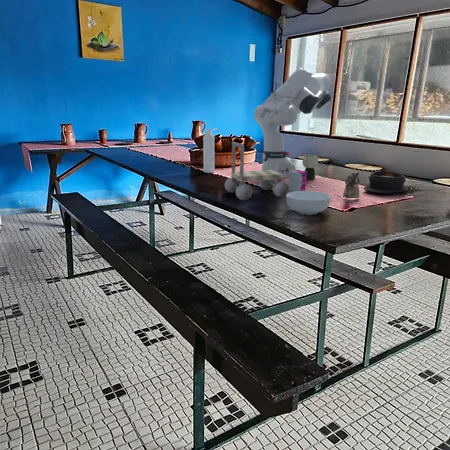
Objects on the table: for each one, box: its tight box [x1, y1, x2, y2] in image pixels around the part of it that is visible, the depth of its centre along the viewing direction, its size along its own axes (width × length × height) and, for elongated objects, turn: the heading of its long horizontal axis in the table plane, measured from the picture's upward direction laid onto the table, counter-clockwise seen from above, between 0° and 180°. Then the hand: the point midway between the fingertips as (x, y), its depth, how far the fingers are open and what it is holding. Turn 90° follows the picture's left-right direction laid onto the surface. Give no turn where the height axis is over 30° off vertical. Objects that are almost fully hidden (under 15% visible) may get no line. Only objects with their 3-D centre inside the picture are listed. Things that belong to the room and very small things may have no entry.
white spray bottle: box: [202, 128, 218, 174], centre depth 238 cm, size 9×6×25 cm
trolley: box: [224, 141, 289, 201], centre depth 185 cm, size 25×16×24 cm, turn 110°
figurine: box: [342, 171, 360, 199], centre depth 181 cm, size 7×7×12 cm
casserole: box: [363, 171, 408, 194], centre depth 196 cm, size 25×19×8 cm
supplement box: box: [287, 169, 307, 194], centre depth 185 cm, size 6×6×12 cm
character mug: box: [302, 154, 319, 180], centre depth 221 cm, size 11×7×13 cm, turn 122°
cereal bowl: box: [285, 190, 331, 216], centre depth 160 cm, size 17×17×7 cm
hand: (264, 118), depth 192 cm, fingers open, 8 cm apart
